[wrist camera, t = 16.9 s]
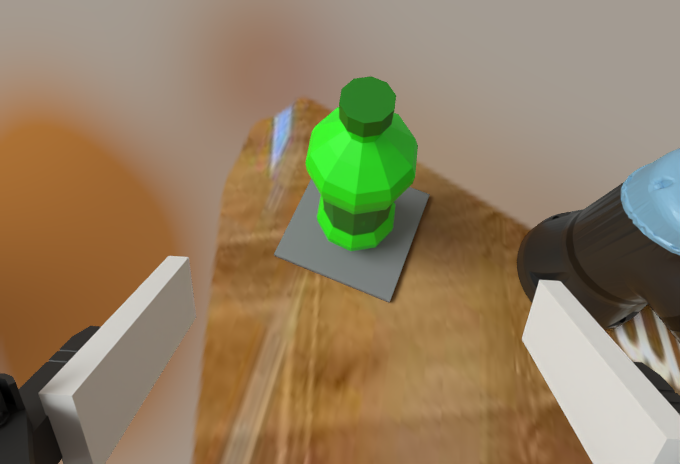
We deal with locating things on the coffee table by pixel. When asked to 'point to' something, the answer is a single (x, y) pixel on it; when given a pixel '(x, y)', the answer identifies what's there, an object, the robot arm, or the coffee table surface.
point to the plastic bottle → (361, 164)
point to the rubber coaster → (353, 266)
